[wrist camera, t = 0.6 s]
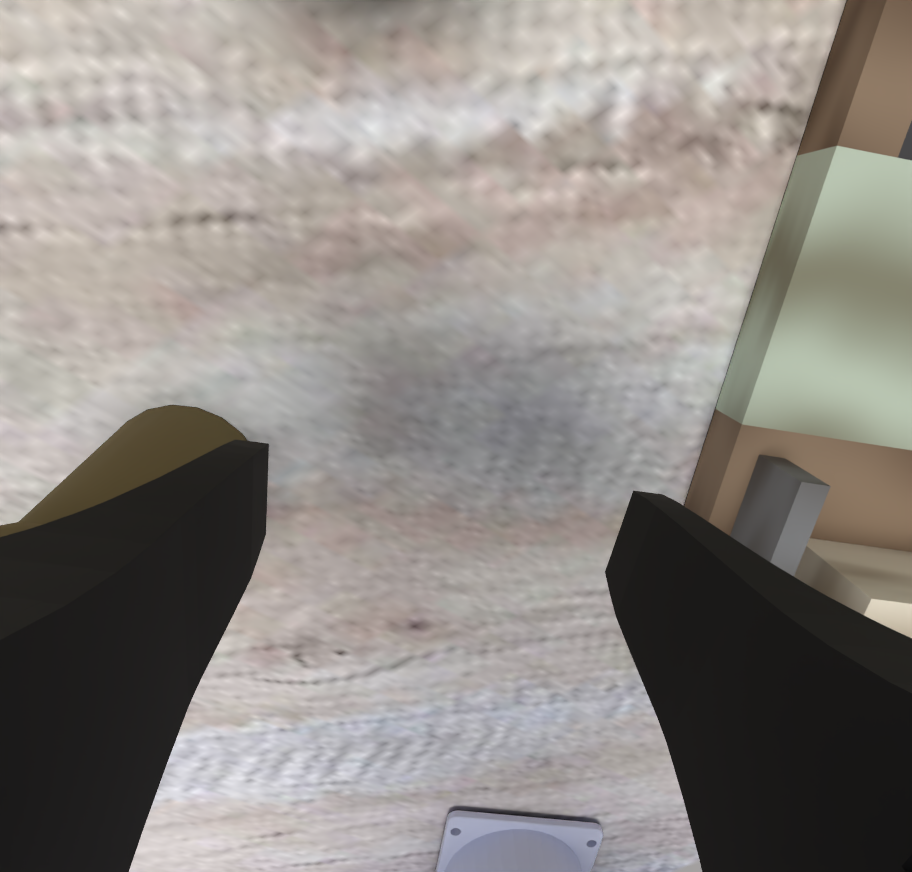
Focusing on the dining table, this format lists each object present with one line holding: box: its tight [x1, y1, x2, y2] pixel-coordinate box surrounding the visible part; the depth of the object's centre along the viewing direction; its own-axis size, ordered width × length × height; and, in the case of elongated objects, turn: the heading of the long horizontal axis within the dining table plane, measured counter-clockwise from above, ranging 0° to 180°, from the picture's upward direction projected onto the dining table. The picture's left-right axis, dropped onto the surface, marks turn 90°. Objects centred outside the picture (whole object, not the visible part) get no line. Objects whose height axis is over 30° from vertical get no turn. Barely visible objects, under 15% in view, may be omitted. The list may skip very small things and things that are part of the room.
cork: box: [0, 405, 247, 537], centre depth 17 cm, size 6×6×11 cm
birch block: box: [794, 538, 912, 638], centre depth 20 cm, size 5×5×4 cm
